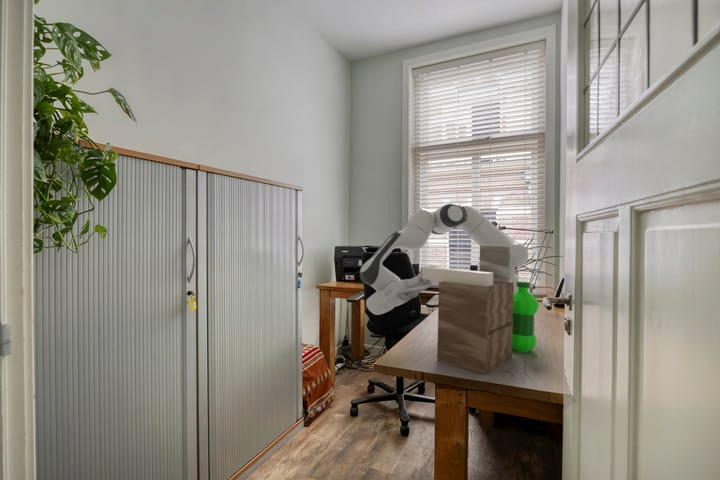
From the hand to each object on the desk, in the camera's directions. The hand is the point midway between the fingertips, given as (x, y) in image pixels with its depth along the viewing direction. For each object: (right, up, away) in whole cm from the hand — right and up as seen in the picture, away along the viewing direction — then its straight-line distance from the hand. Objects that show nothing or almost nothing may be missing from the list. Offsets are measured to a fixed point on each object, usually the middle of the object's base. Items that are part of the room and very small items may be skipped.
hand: (426, 277), depth 123 cm
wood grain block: (+15, -27, -6) cm, 32 cm away
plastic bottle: (+35, -27, +3) cm, 45 cm away
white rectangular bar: (+8, -1, -8) cm, 11 cm away
